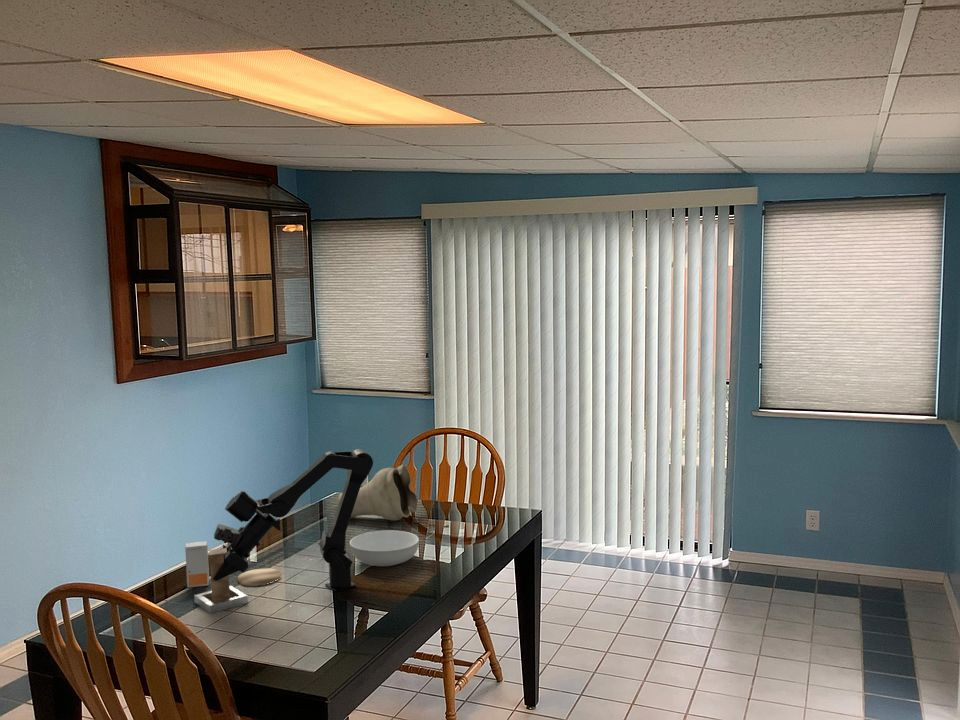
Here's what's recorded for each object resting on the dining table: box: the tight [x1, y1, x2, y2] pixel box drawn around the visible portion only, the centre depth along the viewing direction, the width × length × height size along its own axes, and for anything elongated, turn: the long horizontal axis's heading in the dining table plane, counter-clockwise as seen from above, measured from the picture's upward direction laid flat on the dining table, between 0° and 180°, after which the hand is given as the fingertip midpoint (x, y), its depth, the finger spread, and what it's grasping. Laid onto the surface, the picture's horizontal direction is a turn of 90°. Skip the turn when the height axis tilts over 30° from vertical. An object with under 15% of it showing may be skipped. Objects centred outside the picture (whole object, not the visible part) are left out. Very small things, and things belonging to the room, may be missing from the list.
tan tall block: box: [208, 547, 231, 603], centre depth 241 cm, size 4×4×14 cm
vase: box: [337, 464, 418, 522], centre depth 317 cm, size 23×23×30 cm
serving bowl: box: [349, 529, 420, 567], centre depth 271 cm, size 21×21×7 cm
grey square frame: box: [193, 585, 249, 614], centre depth 241 cm, size 10×10×2 cm
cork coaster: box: [237, 567, 281, 587], centre depth 259 cm, size 12×12×1 cm
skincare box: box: [184, 540, 210, 589], centre depth 255 cm, size 6×4×12 cm
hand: (214, 576), depth 240 cm, fingers closed on tan tall block, 4 cm apart
